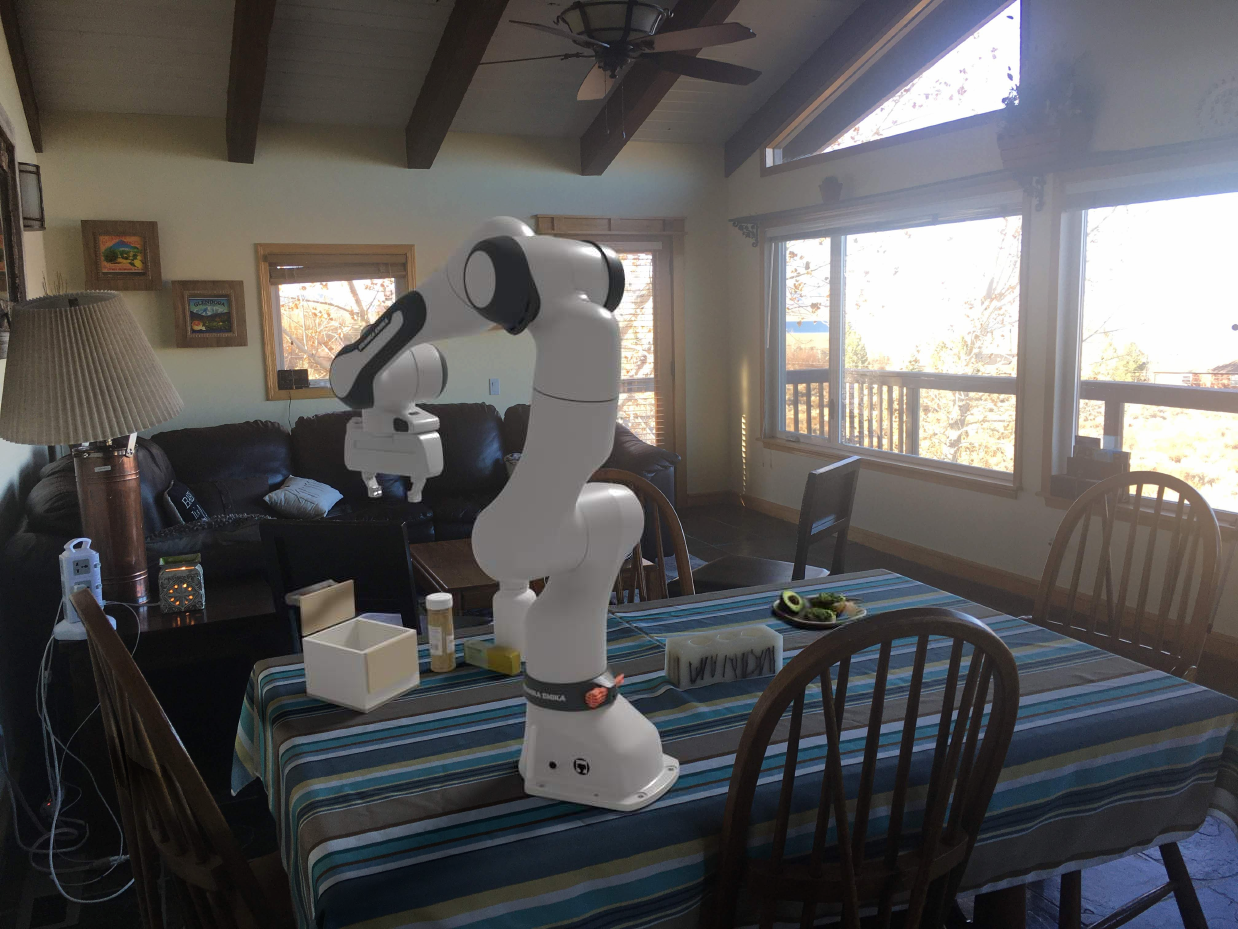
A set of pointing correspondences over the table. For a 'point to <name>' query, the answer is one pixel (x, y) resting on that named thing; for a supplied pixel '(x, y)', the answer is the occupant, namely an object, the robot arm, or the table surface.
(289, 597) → the flap
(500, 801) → the table surface
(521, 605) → the pill bottle
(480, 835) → the table surface
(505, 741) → the table surface
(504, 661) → the medication box
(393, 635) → the carton
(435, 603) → the sprinkles bottle
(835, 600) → the salad plate
